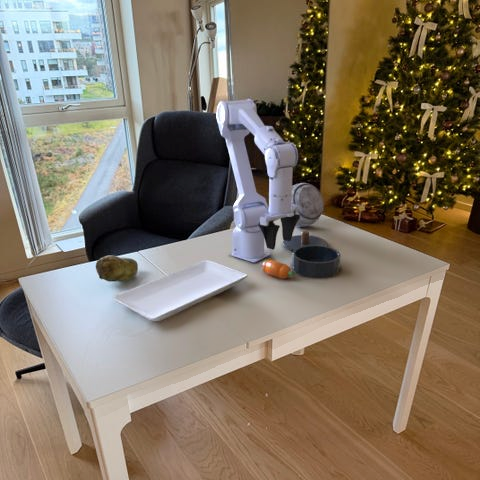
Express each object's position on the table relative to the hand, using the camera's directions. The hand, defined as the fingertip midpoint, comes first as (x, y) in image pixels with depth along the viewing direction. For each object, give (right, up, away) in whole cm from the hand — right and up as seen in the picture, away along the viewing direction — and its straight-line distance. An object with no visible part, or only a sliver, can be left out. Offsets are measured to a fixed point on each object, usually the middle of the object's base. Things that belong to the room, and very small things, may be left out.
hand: (278, 244), depth 121 cm
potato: (-44, -10, +2) cm, 45 cm away
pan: (+11, -6, +7) cm, 15 cm away
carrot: (-1, -8, +4) cm, 9 cm away
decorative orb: (+11, +13, +40) cm, 44 cm away
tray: (-25, -15, -7) cm, 30 cm away
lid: (+10, +4, +22) cm, 25 cm away
